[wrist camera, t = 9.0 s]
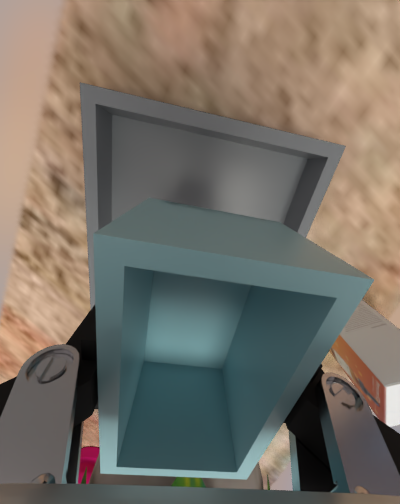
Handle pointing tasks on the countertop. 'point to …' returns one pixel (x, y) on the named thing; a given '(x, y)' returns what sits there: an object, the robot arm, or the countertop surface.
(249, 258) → the small crate
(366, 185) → the countertop surface
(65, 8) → the countertop surface
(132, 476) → the flower arrangement
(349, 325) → the small box
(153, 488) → the robot arm
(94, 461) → the pepper mill
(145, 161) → the gray square tray
